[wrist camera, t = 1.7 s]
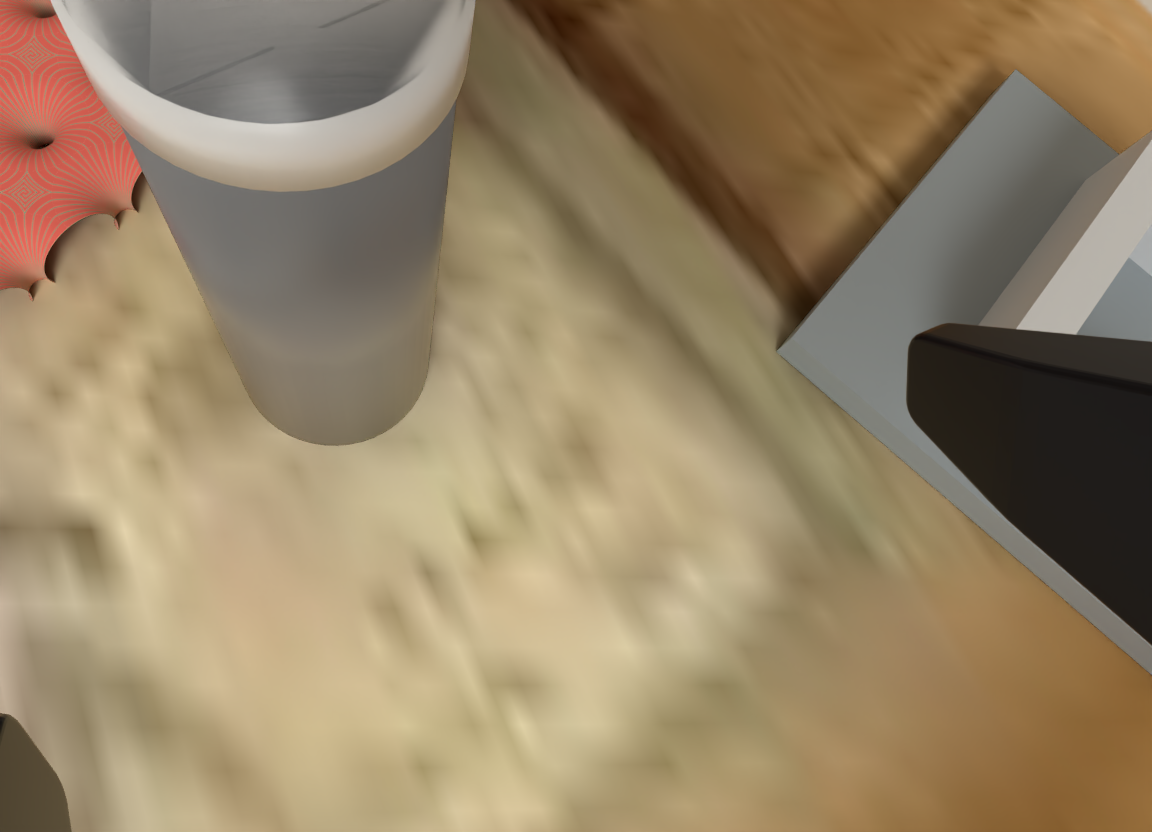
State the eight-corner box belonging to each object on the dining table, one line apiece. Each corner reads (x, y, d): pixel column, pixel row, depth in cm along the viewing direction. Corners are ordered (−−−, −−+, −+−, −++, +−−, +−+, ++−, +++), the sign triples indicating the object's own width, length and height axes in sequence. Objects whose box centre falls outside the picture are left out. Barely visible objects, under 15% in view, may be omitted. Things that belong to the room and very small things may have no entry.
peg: (337, 489, 22) (265, 215, 9) (192, 359, 22) (-62, -74, 10) (471, 355, 23) (558, -31, 11) (334, 235, 23) (271, -273, 11)
